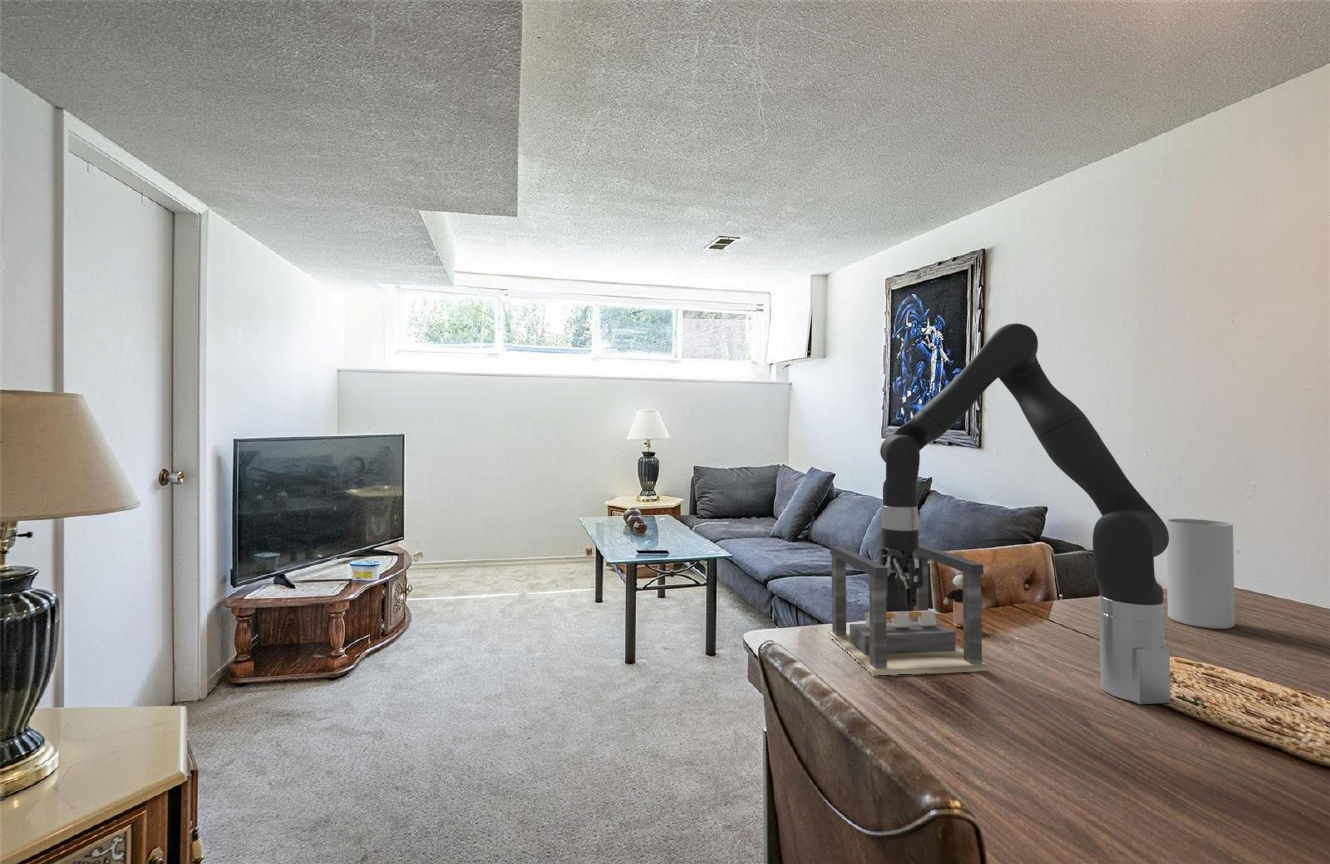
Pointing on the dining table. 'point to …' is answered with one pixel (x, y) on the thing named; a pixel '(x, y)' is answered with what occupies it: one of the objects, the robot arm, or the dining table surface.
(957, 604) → the grandmother figurine
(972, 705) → the dining table surface
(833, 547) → the bar
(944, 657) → the stand
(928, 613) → the breaker paddles
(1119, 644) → the robot arm
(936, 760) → the dining table surface
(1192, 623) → the cylinder vase
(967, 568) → the bar
